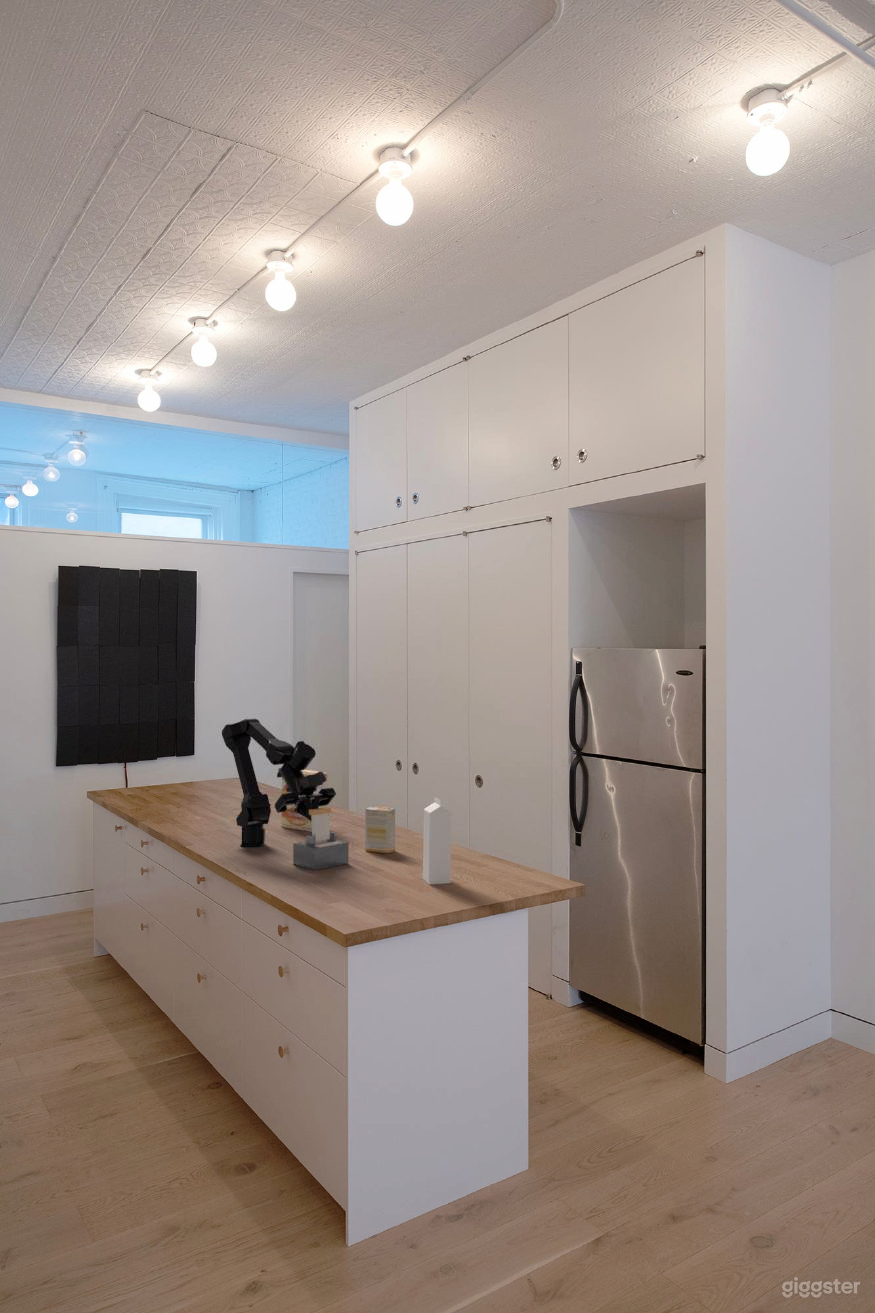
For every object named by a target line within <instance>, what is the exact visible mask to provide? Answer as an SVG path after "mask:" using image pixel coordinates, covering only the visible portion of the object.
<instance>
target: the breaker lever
mask: <svg viewBox="0 0 875 1313" xmlns="http://www.w3.org/2000/svg"><path fill="white" fill-rule="evenodd" d="M330 813H332V807H324V808H317V809H311V810H309V815H311V819H312V832H311V836H313V837H315V842H316V841H322V840H327V839H330V832H331V831H330V817H329V815H330Z"/></svg>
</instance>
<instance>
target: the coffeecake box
mask: <svg viewBox="0 0 875 1313" xmlns="http://www.w3.org/2000/svg"><path fill="white" fill-rule="evenodd" d="M302 772H303V774H304V776H308V775H312V774H315V773H317V772H319V771H317V770H311V769H310V770H309V769H305V770H302ZM322 772H323V771H322ZM323 773H324V775H325V777H326V781H325V782H323V784H322V785H319V786H317V787H316V788H317V790H316V791H315V792H313V793H314V794H318V793H319V791H320V790H321V789H323V788H328V772H327V771H325V772H323ZM287 788H288V786H287V784H286V782H285V780H284V778H283V777H281V795H282V794H285V793H291V792H287V791H286V789H287ZM327 806H328V805H326V806H320V807H319V808H324V807H327ZM286 807H287V810H286V811H285V812H281V826H280V827H282V828H287V829H293V830H300V831H304V830H305V831H304V832H310V833H312V821H310V820H309V819H307V818H306V817H304V816H303V815H301V814H299V813H297V812H294V810H295V809H296V807H295V804H294V805H286Z"/></svg>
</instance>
